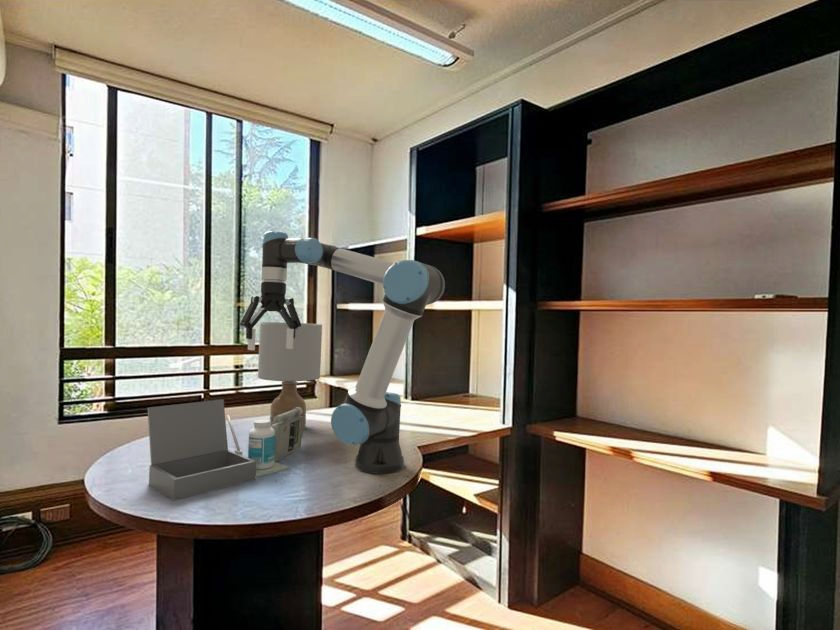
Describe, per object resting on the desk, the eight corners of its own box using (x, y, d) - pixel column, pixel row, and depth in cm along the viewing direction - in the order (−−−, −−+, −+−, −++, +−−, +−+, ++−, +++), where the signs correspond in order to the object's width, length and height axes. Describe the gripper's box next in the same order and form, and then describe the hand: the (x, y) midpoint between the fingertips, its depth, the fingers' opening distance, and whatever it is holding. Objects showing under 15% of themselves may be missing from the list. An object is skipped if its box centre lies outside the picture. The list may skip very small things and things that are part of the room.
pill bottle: (271, 461, 147) (273, 417, 147) (276, 468, 140) (278, 422, 140) (245, 464, 143) (247, 419, 143) (249, 471, 137) (251, 424, 137)
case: (259, 478, 134) (262, 408, 134) (173, 500, 116) (177, 419, 116) (224, 462, 146) (227, 398, 146) (142, 480, 128) (145, 407, 128)
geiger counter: (281, 416, 146) (312, 405, 171) (262, 414, 147) (296, 403, 172) (278, 462, 146) (309, 444, 171) (258, 460, 147) (292, 442, 172)
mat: (287, 468, 143) (287, 466, 143) (254, 477, 134) (254, 475, 134) (267, 460, 150) (267, 458, 150) (234, 468, 141) (234, 466, 141)
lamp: (279, 418, 207) (283, 322, 207) (328, 425, 200) (332, 324, 200) (242, 430, 184) (247, 322, 185) (296, 438, 177) (301, 325, 177)
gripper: (299, 284, 162) (297, 347, 162) (230, 278, 143) (227, 349, 143) (313, 284, 157) (310, 349, 157) (243, 278, 138) (240, 351, 138)
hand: (271, 349), depth 150 cm, fingers open, 13 cm apart
